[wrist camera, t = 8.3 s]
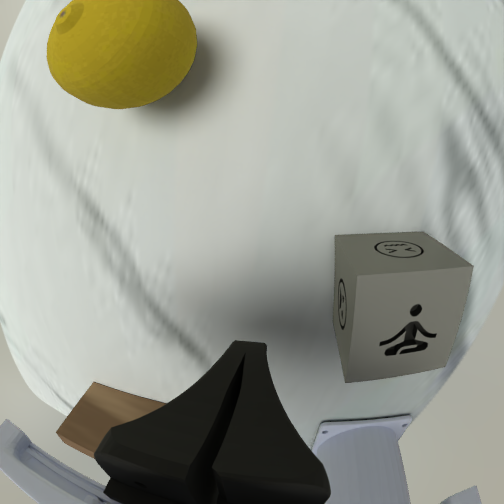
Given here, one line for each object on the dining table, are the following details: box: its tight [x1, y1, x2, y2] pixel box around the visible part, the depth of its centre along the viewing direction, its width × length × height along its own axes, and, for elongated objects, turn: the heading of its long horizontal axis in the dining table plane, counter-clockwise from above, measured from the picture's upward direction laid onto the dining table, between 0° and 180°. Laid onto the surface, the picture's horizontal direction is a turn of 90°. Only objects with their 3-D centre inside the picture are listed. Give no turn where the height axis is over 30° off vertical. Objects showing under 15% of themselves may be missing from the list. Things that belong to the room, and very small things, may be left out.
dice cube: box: [333, 232, 473, 383], centre depth 11 cm, size 5×5×5 cm
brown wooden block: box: [56, 382, 166, 459], centre depth 16 cm, size 2×14×7 cm, turn 88°
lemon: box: [47, 0, 197, 109], centre depth 8 cm, size 6×6×8 cm
